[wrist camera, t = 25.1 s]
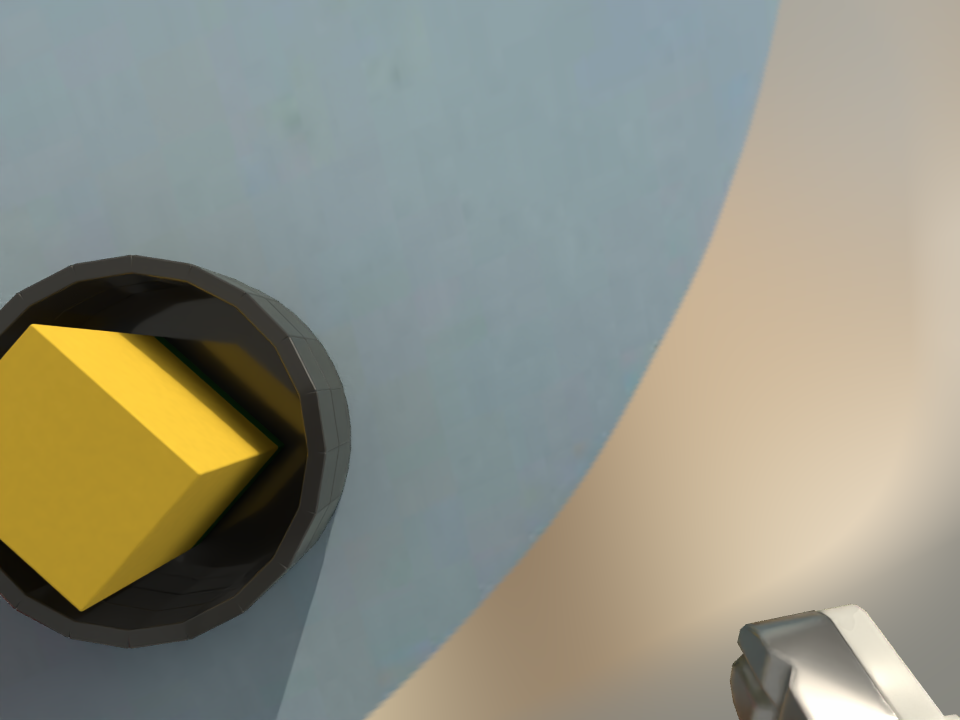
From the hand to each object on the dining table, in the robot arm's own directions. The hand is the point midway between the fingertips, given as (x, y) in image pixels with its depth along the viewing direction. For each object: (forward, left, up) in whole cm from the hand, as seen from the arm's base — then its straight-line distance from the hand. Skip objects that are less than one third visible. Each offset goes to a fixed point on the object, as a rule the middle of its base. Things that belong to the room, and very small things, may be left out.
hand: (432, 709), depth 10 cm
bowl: (+9, -6, -19) cm, 22 cm away
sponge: (+9, -6, -18) cm, 21 cm away
